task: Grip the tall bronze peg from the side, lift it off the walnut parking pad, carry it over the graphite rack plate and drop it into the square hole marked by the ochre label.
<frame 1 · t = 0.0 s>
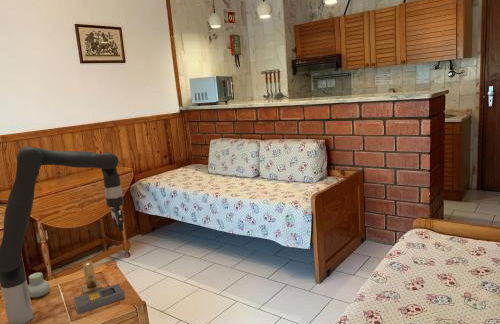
hand: (119, 228, 185), 29 cm above the table, tool pointing down, fingers open, 8 cm apart
peg: (91, 286, 189), point 2 cm above the table, touching parking pad
parking pad: (92, 290, 189), on the table
rack plate: (99, 300, 179), on the table
air freshener: (39, 294, 189), on the table
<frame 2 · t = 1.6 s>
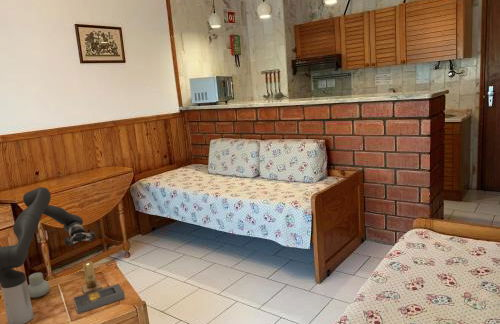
hand: (81, 242, 196), 20 cm above the table, tool horizontal, fingers open, 8 cm apart
nothing on the table moved.
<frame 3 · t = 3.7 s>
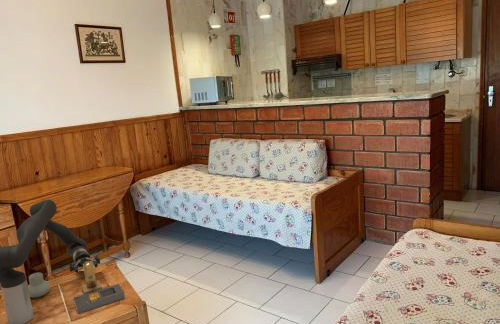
hand: (86, 268, 193), 9 cm above the table, tool horizontal, fingers open, 8 cm apart
nothing on the table moved.
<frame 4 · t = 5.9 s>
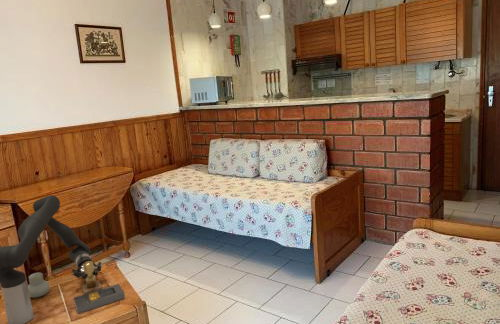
hand: (90, 275, 185), 9 cm above the table, tool horizontal, fingers closed on peg, 4 cm apart
peg: (91, 286, 189), point 2 cm above the table, touching gripper, parking pad
everything else where it was.
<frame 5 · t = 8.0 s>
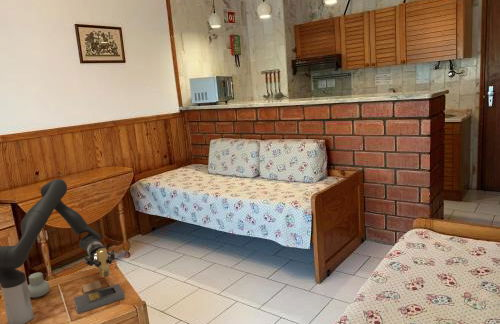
hand: (104, 263, 175), 18 cm above the table, tool horizontal, fingers closed on peg, 4 cm apart
peg: (105, 275, 179), point 11 cm above the table, touching gripper
everything else where it was.
when the fingers open (11 cm above the table, at t = 10.0 s): peg drops 4 cm, resting in rack plate.
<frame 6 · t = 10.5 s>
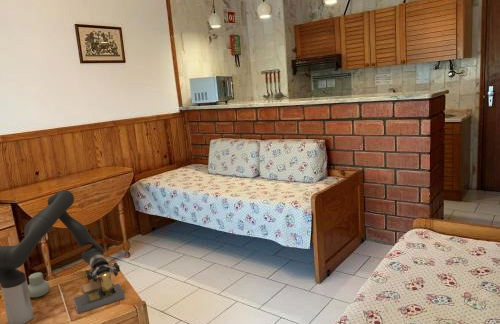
hand: (106, 277, 177), 11 cm above the table, tool horizontal, fingers open, 8 cm apart
peg: (108, 297, 181), resting in rack plate
everything else where it was.
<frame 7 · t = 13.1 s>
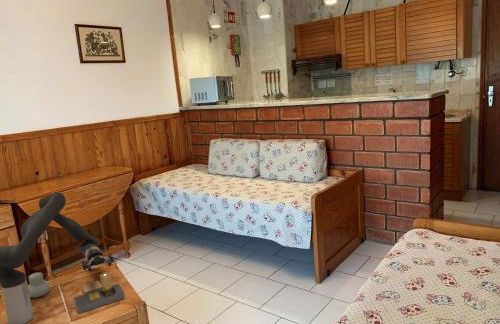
hand: (100, 267, 188), 11 cm above the table, tool horizontal, fingers open, 8 cm apart
nothing on the table moved.
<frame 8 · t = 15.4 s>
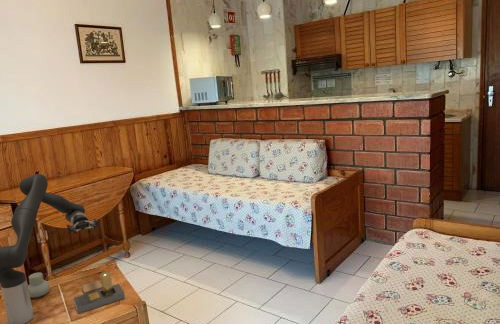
hand: (85, 229, 191), 28 cm above the table, tool horizontal, fingers open, 8 cm apart
nothing on the table moved.
at the end: peg 0.1 cm from the target spot on the rack plate, point 0.0 cm above the rack plate's base; peg tilted 0°; the gripper is holding nothing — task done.
